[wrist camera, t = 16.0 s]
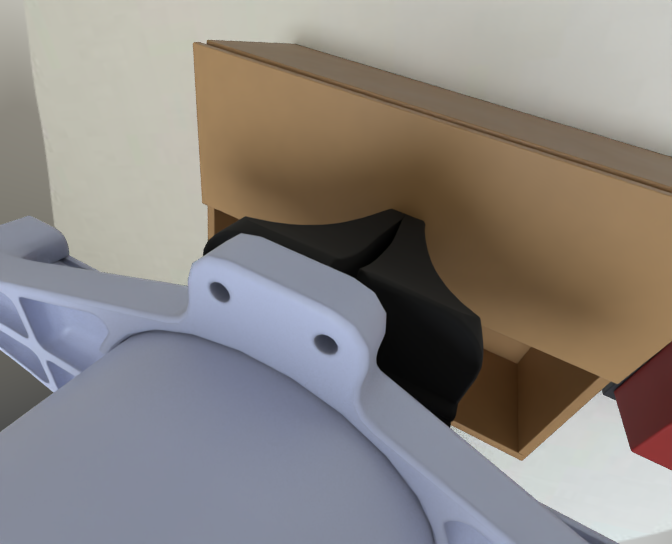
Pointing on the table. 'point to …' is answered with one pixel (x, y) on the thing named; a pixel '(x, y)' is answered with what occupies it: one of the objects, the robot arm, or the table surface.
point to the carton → (498, 350)
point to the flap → (449, 207)
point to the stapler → (647, 407)
